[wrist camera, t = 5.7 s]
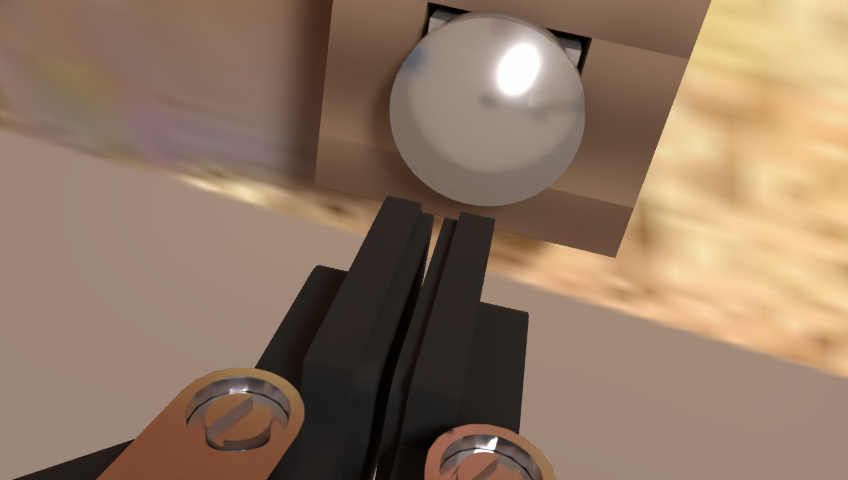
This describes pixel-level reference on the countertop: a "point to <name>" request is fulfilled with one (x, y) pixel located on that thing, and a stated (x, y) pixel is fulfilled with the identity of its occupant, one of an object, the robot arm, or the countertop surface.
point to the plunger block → (603, 95)
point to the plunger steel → (489, 106)
